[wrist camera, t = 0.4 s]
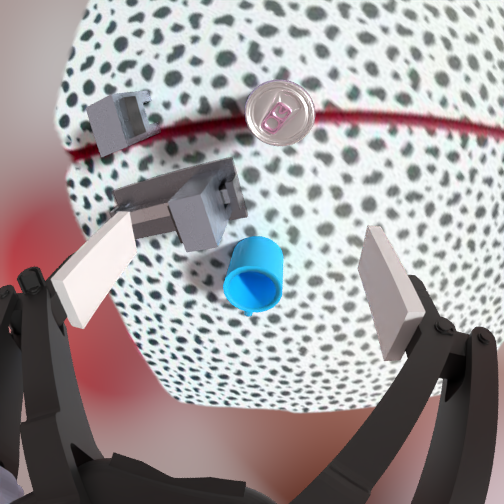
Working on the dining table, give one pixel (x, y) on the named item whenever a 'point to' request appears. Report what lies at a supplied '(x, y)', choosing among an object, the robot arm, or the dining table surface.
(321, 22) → the dining table surface
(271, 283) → the mug
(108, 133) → the stepped metal block
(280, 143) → the beverage can
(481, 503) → the robot arm
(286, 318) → the dining table surface
